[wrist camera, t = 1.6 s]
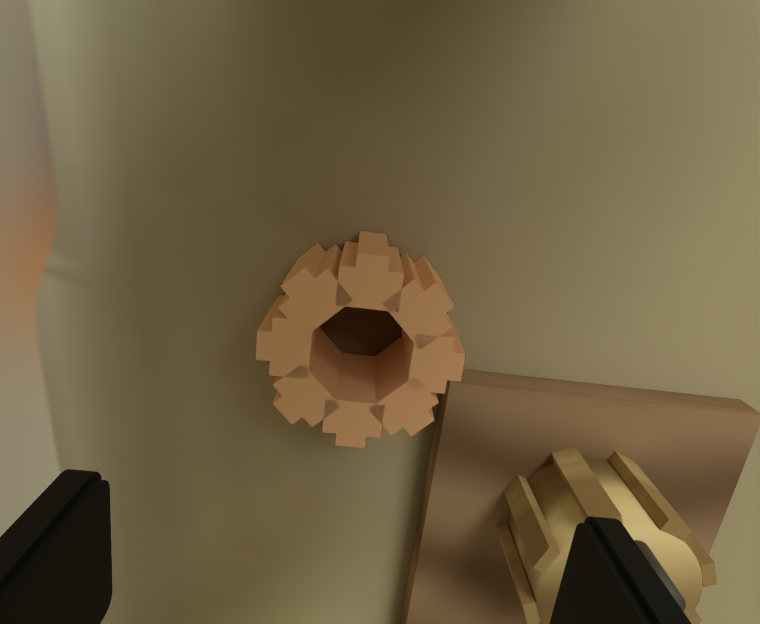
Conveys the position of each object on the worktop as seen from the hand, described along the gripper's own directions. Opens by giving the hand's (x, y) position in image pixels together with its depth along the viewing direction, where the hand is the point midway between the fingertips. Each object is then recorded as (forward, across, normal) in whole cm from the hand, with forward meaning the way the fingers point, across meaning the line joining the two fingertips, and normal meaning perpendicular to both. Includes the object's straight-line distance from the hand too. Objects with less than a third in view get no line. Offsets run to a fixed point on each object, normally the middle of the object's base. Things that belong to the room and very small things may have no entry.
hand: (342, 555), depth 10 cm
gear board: (+14, -11, +11) cm, 21 cm away
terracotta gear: (+13, 0, -1) cm, 13 cm away
